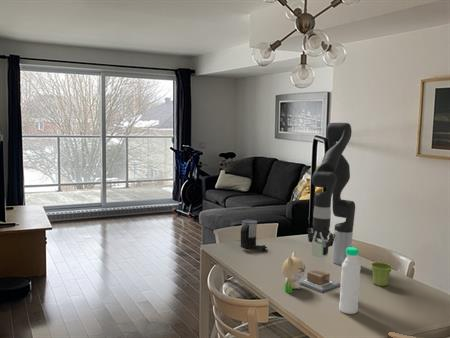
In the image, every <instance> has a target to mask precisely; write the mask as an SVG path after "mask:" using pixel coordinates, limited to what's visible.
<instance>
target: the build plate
mask: <svg viewBox="0 0 450 338" xmlns="http://www.w3.org/2000/svg"><path fill="white" fill-rule="evenodd" d="M299 282H300V285H301V286H303V287H305V286H306V287H305V288H308V289H311V290H313V289H314V291H316V290H317V292H319V293H323V291H324V292H326V290H327V291H328V290H331V289H335V288H337V287H341V282H339V281H336V280H333V279H330V278H329V283H326V284H323V285H320V286H319V285H317V284H314V283H311V282H308V281H307V276H305V277H302V278H300V279H299Z"/></svg>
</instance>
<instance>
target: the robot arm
mask: <svg viewBox="0 0 450 338" xmlns="http://www.w3.org/2000/svg"><path fill="white" fill-rule="evenodd" d="M351 137H352V126H351V124H350V123H348V122H330V123H328V125H327V127H326V139H327V143H328V150H327V151H326V152H325V153H324V156H323V158H322V160H321V163H320V165H319V166H318V167H317V169H315V171H314V172H313V173H312V175H311V176H312V177H311V183H312V185H313V186H314V187H316V188H324V189H325V188H326V190H325V191H322V192H321V191H320V192H317V193H315V195H314V208H313V218H312V226H313V227H311V228H307V229H306V232H307V237H308V238H307V239H308V242H309V243H311V244H312V242H315V241H319V239H320V241H322V242H323V246H324V247H323V255H324V256H325V255H327V254H328V255H329V248H330V247H332V248H333V249H332V263H334V264H335V265H340V266H342V264H343V262H344V260H345V258H346V257H347V255H346V248H348V247H353V233H354V231H353V230H354V224H355V223H354V222H355V214H356V204H355V202H354V201H353V200H348V199H342V198H341V196H342V195H341V194H342V192H343V190H344V188H345V187H346V185H347V184H348V183H349V181H350V179H351V178H350V177H351V171H350V170H351V169H350V164H349V161H348V160H347V159H346V157H345V156H344V154H343V153H344V151H345V150H346V148H347V145H348V144H349V142H350V140H351ZM331 204H332V205H331ZM331 209H332V211H331ZM332 213H333V216H335V217H337V218H344V219H345V221H342V222H338V223H335V224H334V231H333V232H334V233H332V232H331V231H330V228H331V217H332V216H331V215H332Z"/></svg>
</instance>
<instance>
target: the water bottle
mask: <svg viewBox="0 0 450 338" xmlns="http://www.w3.org/2000/svg"><path fill="white" fill-rule="evenodd" d="M346 255H347V257H346V258H345V260H344V262H343V264H342V265H341V274H340V293H339V304H338V309H339V311H340V312H341V313H344V314H345V315H346V314H348V315H353V314H356V313H357V312H358V311H359V303H358V302H359V297H360V296H359V291H360V284H361V281H360V280H361V269H362V268H361V267H362V266H361V263H360V262H359V260H358V256H359V249H358V248H356V247H354V246H352V247H348V248H346Z"/></svg>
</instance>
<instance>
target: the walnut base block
mask: <svg viewBox="0 0 450 338" xmlns="http://www.w3.org/2000/svg"><path fill="white" fill-rule="evenodd" d="M306 277H307V281H308V282H311V283H314V284H317V285H319V286H320V285H323V284H326V283H329V279H330V273H329V272H326V271H323V270H320V269H314V270H310V271H308V272H307V276H306Z"/></svg>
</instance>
